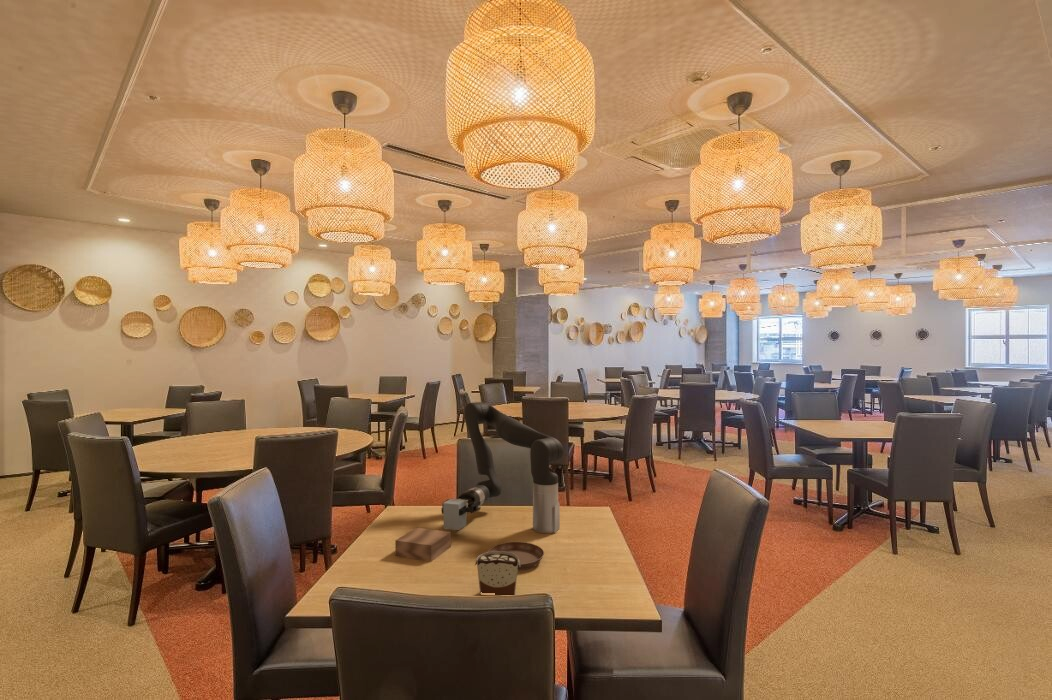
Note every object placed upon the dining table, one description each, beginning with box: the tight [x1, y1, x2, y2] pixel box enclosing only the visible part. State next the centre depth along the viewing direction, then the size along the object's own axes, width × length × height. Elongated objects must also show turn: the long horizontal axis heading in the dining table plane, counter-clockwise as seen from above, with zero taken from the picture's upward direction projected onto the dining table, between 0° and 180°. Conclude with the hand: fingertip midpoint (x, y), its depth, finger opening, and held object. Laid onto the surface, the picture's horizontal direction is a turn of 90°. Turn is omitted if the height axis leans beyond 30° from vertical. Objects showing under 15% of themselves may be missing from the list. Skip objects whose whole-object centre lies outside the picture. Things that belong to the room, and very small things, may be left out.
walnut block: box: [394, 527, 452, 562], centre depth 175 cm, size 13×13×5 cm
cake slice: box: [474, 551, 520, 596], centre depth 147 cm, size 12×6×10 cm, turn 84°
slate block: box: [442, 498, 467, 531], centre depth 191 cm, size 6×6×9 cm
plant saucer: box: [487, 541, 545, 571], centre depth 168 cm, size 18×18×3 cm
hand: (451, 511), depth 189 cm, fingers closed on slate block, 6 cm apart
